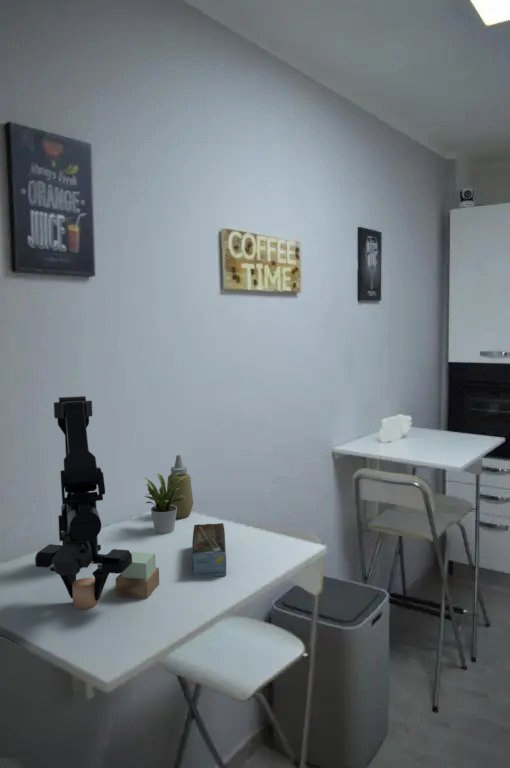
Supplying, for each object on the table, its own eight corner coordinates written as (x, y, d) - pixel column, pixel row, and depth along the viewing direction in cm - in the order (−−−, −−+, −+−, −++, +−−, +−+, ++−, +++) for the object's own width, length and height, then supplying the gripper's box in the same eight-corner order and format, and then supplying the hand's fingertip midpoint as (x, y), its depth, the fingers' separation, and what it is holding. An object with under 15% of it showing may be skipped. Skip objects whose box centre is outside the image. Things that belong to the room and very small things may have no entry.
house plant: (196, 520, 177) (195, 464, 175) (194, 537, 163) (193, 477, 161) (145, 521, 176) (144, 465, 174) (139, 539, 162) (138, 478, 160)
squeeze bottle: (160, 515, 181) (158, 455, 179) (182, 509, 187) (181, 451, 185) (177, 522, 176) (175, 460, 174) (199, 515, 181) (198, 455, 179)
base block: (116, 596, 130) (115, 578, 129) (129, 582, 136) (128, 565, 136) (147, 599, 128) (147, 581, 128) (159, 585, 135) (158, 567, 135)
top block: (121, 577, 130) (121, 561, 129) (131, 567, 135) (131, 551, 135) (146, 579, 129) (146, 563, 128) (155, 569, 134) (155, 553, 134)
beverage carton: (191, 578, 138) (190, 550, 137) (193, 547, 157) (193, 522, 156) (227, 577, 139) (226, 549, 138) (224, 546, 158) (224, 521, 157)
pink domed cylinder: (68, 608, 124) (67, 586, 124) (80, 597, 129) (79, 576, 128) (90, 610, 123) (90, 588, 123) (101, 599, 128) (100, 578, 127)
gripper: (17, 535, 118) (21, 613, 120) (108, 542, 114) (110, 622, 116) (48, 516, 129) (51, 588, 131) (132, 522, 125) (134, 596, 127)
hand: (85, 598), depth 126 cm, fingers open, 5 cm apart
